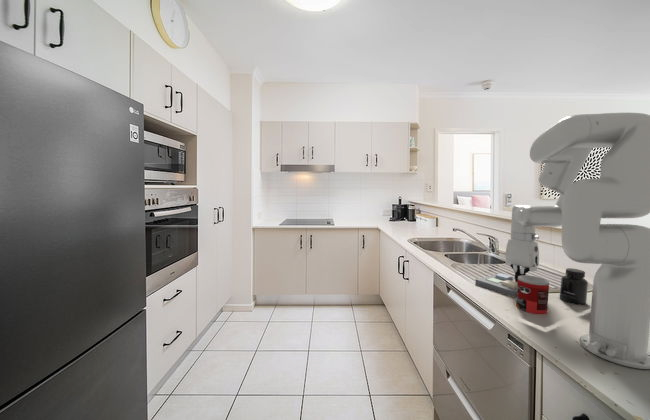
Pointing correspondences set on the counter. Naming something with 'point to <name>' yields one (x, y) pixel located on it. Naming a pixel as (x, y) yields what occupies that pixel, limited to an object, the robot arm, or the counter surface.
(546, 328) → the counter surface
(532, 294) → the canned food
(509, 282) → the sand key
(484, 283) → the keypad
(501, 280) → the sage key
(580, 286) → the supplement bottle
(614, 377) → the counter surface
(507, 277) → the slate key
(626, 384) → the counter surface
